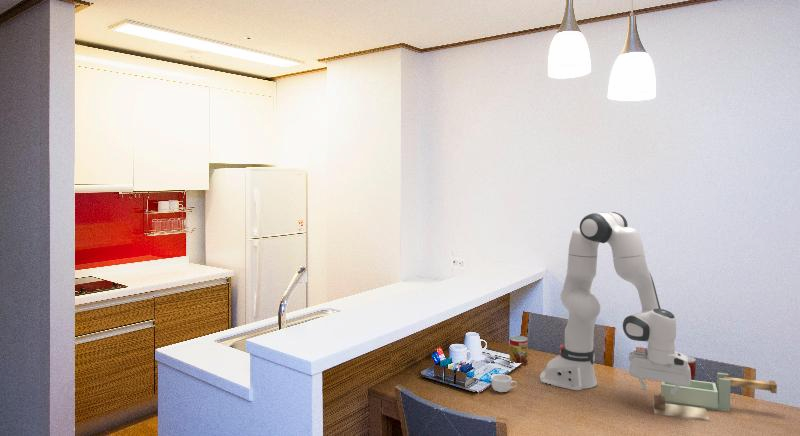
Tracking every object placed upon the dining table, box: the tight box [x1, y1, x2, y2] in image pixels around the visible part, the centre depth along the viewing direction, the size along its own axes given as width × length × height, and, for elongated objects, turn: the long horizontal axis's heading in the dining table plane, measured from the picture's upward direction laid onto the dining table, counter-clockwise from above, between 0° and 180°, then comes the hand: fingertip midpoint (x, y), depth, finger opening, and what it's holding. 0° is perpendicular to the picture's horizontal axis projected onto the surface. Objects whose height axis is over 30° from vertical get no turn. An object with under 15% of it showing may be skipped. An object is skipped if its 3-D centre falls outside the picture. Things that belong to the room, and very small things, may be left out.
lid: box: [652, 394, 710, 422], centre depth 194 cm, size 17×9×5 cm, turn 68°
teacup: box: [490, 373, 518, 393], centre depth 215 cm, size 10×8×5 cm
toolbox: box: [660, 372, 732, 413], centre depth 201 cm, size 22×9×12 cm, turn 66°
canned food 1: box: [509, 335, 529, 367], centre depth 243 cm, size 8×8×12 cm
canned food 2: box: [686, 355, 697, 380], centre depth 218 cm, size 8×8×11 cm
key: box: [724, 376, 778, 395], centre depth 193 cm, size 16×4×3 cm, turn 66°
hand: (658, 392), depth 195 cm, fingers open, 8 cm apart
